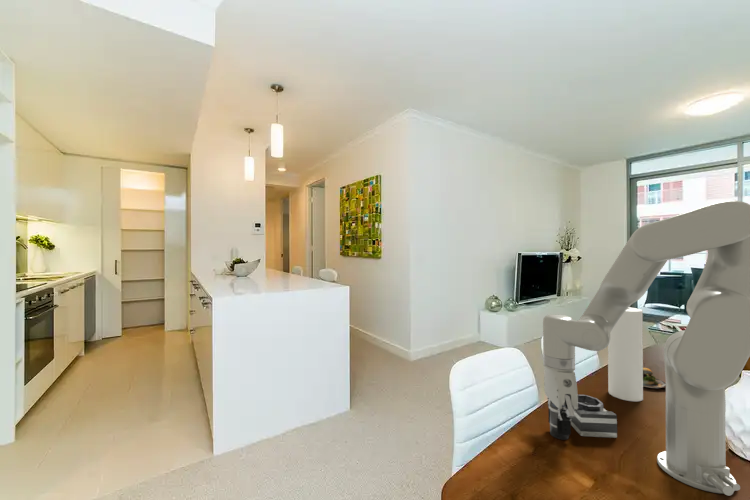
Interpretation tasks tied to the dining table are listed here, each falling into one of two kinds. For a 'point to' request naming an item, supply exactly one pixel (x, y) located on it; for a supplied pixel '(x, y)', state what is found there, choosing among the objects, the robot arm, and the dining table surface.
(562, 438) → the lens
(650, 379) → the white patterned bowl
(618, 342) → the cylinder container
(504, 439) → the dining table surface
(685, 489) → the dining table surface
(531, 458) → the dining table surface
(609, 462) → the dining table surface
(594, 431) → the grey striped block
